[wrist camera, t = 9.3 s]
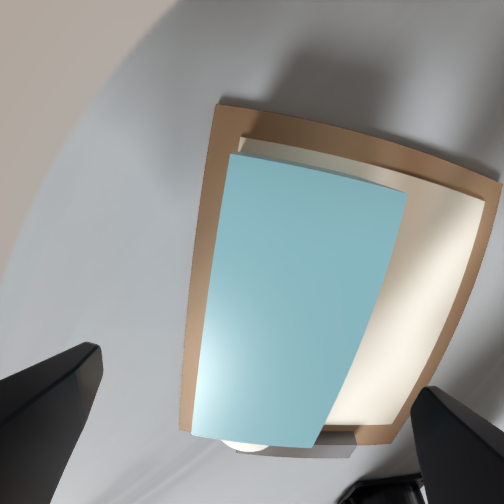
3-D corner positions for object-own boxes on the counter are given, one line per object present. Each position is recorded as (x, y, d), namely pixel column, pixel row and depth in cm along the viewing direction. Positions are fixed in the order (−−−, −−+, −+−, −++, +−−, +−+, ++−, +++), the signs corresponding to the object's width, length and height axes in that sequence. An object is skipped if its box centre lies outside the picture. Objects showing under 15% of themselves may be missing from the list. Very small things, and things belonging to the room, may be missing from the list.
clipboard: (497, 182, 11) (517, 188, 9) (388, 438, 15) (395, 455, 14) (217, 105, 10) (211, 99, 9) (180, 424, 15) (175, 443, 14)
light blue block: (239, 151, 10) (230, 154, 6) (357, 176, 10) (408, 193, 7) (202, 389, 13) (188, 459, 10) (290, 401, 14) (298, 471, 10)
